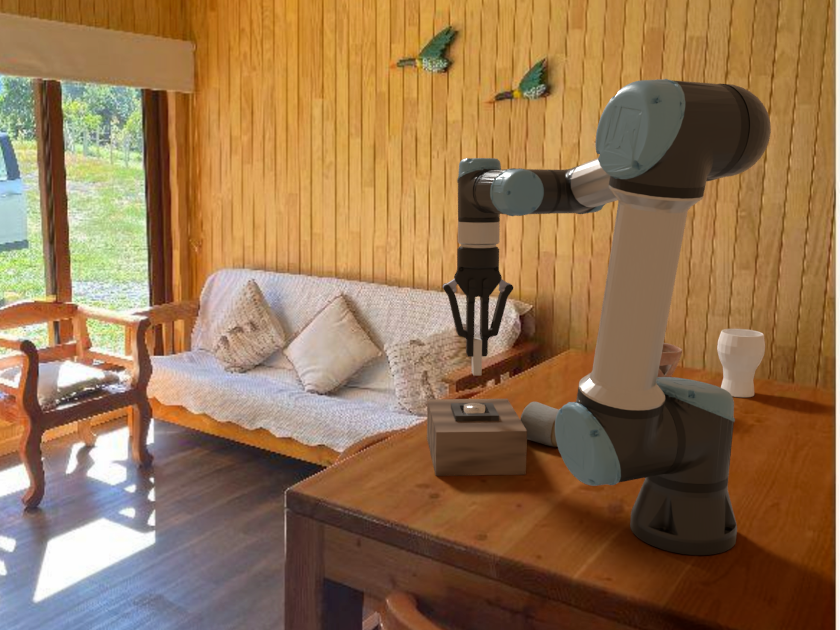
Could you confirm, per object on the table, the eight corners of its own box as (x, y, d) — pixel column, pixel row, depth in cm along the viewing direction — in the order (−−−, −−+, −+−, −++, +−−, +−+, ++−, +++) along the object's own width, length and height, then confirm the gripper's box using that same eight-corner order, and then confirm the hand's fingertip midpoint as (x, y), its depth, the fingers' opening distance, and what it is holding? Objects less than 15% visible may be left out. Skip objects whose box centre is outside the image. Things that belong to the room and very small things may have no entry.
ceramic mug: (552, 452, 156) (554, 413, 155) (517, 442, 161) (519, 405, 160) (582, 440, 164) (584, 403, 162) (547, 431, 169) (549, 395, 168)
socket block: (525, 474, 145) (527, 425, 143) (435, 475, 144) (436, 426, 142) (506, 437, 164) (507, 393, 163) (426, 438, 163) (427, 394, 162)
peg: (485, 453, 152) (486, 409, 151) (464, 453, 152) (465, 409, 150) (482, 445, 156) (483, 402, 154) (461, 446, 156) (462, 403, 154)
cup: (708, 386, 203) (712, 327, 201) (751, 387, 203) (756, 328, 200) (721, 399, 193) (726, 336, 190) (767, 400, 193) (773, 337, 190)
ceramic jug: (681, 421, 176) (686, 356, 174) (612, 413, 181) (617, 350, 178) (683, 400, 193) (688, 341, 190) (620, 393, 197) (624, 335, 195)
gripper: (510, 243, 151) (507, 368, 155) (440, 243, 150) (439, 369, 154) (518, 247, 144) (515, 378, 148) (444, 247, 143) (443, 379, 147)
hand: (476, 373), depth 151 cm, fingers closed
